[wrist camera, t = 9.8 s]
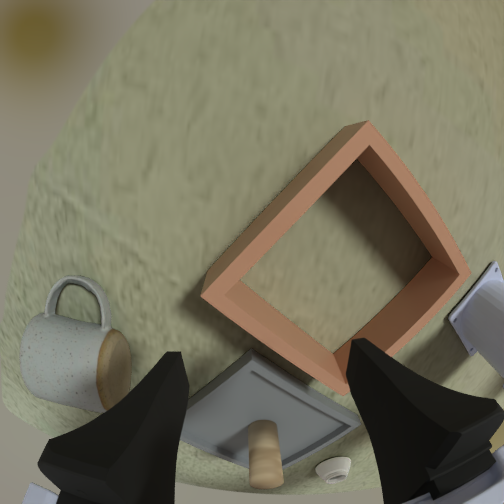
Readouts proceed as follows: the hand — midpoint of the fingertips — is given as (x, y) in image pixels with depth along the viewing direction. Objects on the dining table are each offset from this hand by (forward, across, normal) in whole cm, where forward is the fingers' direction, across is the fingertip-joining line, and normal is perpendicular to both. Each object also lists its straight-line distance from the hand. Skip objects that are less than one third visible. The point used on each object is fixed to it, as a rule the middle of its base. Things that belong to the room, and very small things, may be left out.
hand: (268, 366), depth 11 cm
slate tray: (+10, 0, +17) cm, 20 cm away
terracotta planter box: (+10, -6, 0) cm, 12 cm away
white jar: (+10, -9, +30) cm, 33 cm away
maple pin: (+9, 0, +17) cm, 19 cm away
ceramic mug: (+10, +15, +4) cm, 19 cm away
